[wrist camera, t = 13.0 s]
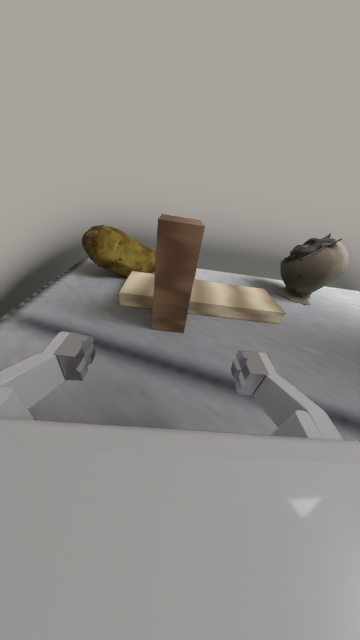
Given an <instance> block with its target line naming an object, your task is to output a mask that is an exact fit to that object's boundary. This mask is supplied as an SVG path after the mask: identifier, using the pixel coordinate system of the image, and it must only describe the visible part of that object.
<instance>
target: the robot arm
mask: <svg viewBox="0 0 360 640" xmlns="http://www.w3.org/2000/svg"><path fill="white" fill-rule="evenodd" d="M93 341H94V340H93V336H92V335H88V334H80V333H73V332H72V333H71V332H64V331H62V332H59V333H58V334H57V335H56V337H55V338H54V339H53V340H52V341H51V342H50V343H49V345H48V346H47V347H46V348H45V349H44V350H43V351H42V353H41V354H38V353H37V354H35V355H33V356H31V357H29V358H27V359H25V360H22V361H20V362H18V363H16V364H14V365H12V366H10V367H8V368H6V369H4V370H2V371H0V640H360V441H349V440H344V439H343V438H342V436H341V435H340V433H339V432H338V430H337V429H336V427H335V426H334V424H333V423H332V421H331V420H330V418H329V417H328V415H327V414H326V412H325V411H324V410H322V409H321V408H320V407H319V406H317V405H316V404H315V403H314V402H312V401H311V400H310V399H309V398H307V397H306V396H305V395H304V394H302V393H301V392H300V391H299V390H297V389H296V388H295V387H294V386H292V385H291V384H290V383H289V382H287V381H286V380H285V379H284V378H282V377H280V376H278V374H277V372H276V370H275V368H274V367H273V365H272V363H271V361H270V359H269V357H268V356H267V354H266V353H260V352H249V351H238V352H237V354H236V356H237V359H235V360H234V361H233V363H232V368H231V370H232V375H233V377H234V378H235V379H236V382H235V386H236V389H237V392H238V394H244V395H253V398H254V399H255V400H256V401H257V402H258V404H259V405H260V406H261V407H262V408H263V410H264V411H265V412H266V413H267V414H268V416H269V417H270V418H271V419H272V420H273V422H274V423H275V424H276V425H277V426H278V428H277V429H276V430H275V431H274V432H273V434H272V436H271V435H256V434H240V433H225V432H210V431H195V430H179V429H164V428H148V427H133V426H117V425H102V424H86V423H71V422H55V421H40V420H34V419H33V416H32V415H31V413H30V412H29V411H28V409H29V408H30V407H32V406H33V405H34V404H36V403H37V402H38V401H40V400H41V399H42V398H43V397H45V396H46V395H47V394H49V393H50V392H51V391H52V390H54V389H55V388H56V387H58V386H59V385H60V384H61V383H63V382H64V381H65V380H80V381H83V379H84V377H85V375H86V373H87V371H88V367H87V366H88V365H90V364H91V363H92V362H93V360H94V356H95V346H94V345H93V344H92V342H93Z"/></svg>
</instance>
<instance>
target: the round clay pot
mask: <svg viewBox="0 0 360 640" xmlns="http://www.w3.org/2000/svg"><path fill="white" fill-rule="evenodd" d="M330 235H331V234H329V235H328V236H326V237H324V238H322V239H316V238H312V239H309V240H308V241H307V242H305V243H304V244H303V245H297V246H296V247H295V248H294V249H293V250H292V251H291V252H290V254H291V255H290V256H288V257H287V258H284V259H283V260H282V261H281V276H282V279H283V281H284V283H285V285H286V288H280V289H278V290H277V291H278V293H279V294H280V295H282V296H284V297H285V298H287V299H289V300H291V301H294V302H296V303H298V302H299V303H301V304H304V305H306V304H309V302H308V300H307V299H308V298H310V295H311V293H312V292H314V291H316V290H318V289H320V288H322V287H323V286H325V285H327V284H328V283H330V282H332V281H333V280H335V279H337V278H338V277H340V276H341V275H342V274H343V273H344V272H345V270H346V268H347V265H348V252H347V250H346V248H345V247H344V246H343V245H342V244H341V243H340V242H339V241H340V240H341V239H340V240H335V239H331V238H329V237H330ZM309 305H310V304H309Z"/></svg>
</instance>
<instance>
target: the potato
mask: <svg viewBox="0 0 360 640" xmlns="http://www.w3.org/2000/svg"><path fill="white" fill-rule="evenodd" d="M82 244H83V247H84V249H85V251H86V253H87V254H88V255H89V257H90V259H91V260H92V261H94V262H95V263H96V264H97V265H98V266H100V267H102V268H105V269H108V270H112V271H114V272H116V273H117V274H120V275H122V276H126V277H129V275H130V274H131V272H132V271H135V272H143V273H150V274H151V273H153V272H155V262H156V251H155V250H154V249H152V248H150V247H149V246H147V245H144V244H142V243H140V242H138V241H137V240H135V239H133V238H131V237H130V236H128V235H127V234H125V233H124V232H123V231H121V230H119V229H117V228H114V227H109V226H104V225H100V226H95V227H92V228H91V229H89V230H88V231H87V232H86V233H85V234H84V235H83V238H82Z"/></svg>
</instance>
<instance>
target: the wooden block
mask: <svg viewBox="0 0 360 640" xmlns="http://www.w3.org/2000/svg"><path fill="white" fill-rule="evenodd" d="M204 227H205V226H204V225H203V224H202V222H201V221H200V220H194V219H188V218H182V217H176V216H170V215H164V214H162V215H161V216H160V217H159V218H158V229H157V246H156V262H155V279H154V295H153V312H152V328H151V329H154V330H163V331H173V332H182V333H183V332H184V327H185V322H186V317H187V312H188V307H189V302H190V297H191V292H192V288H193V283H194V278H195V273H196V268H197V262H198V257H199V253H200V248H201V242H202V237H203V232H204Z"/></svg>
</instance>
